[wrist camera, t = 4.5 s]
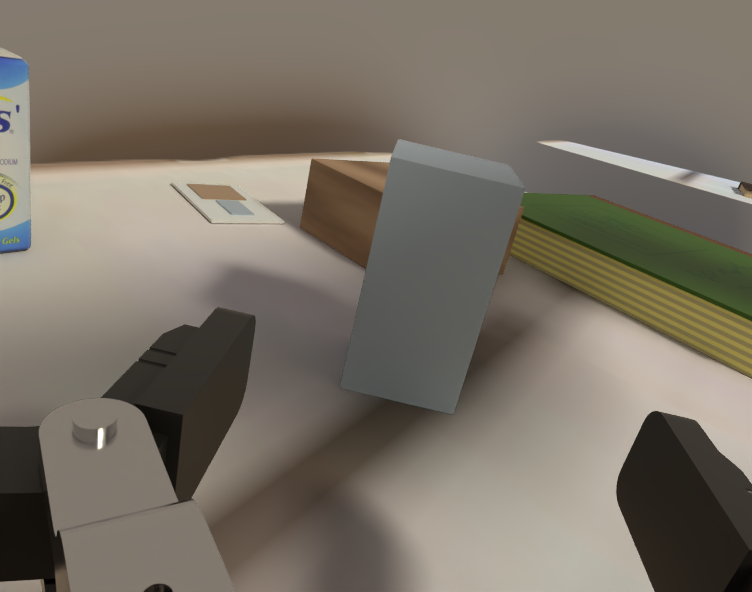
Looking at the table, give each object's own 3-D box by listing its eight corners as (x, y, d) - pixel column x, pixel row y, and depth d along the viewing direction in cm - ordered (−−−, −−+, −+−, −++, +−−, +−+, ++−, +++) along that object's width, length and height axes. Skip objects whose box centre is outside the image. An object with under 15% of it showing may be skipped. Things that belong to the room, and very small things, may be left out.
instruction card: (236, 187, 45) (237, 183, 45) (283, 223, 39) (284, 219, 39) (171, 184, 42) (171, 180, 42) (211, 223, 36) (211, 218, 36)
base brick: (403, 226, 46) (418, 164, 44) (501, 277, 40) (524, 207, 38) (299, 231, 40) (311, 158, 38) (397, 293, 33) (418, 209, 31)
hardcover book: (852, 346, 44) (879, 301, 42) (760, 395, 32) (794, 335, 30) (574, 228, 61) (587, 193, 59) (448, 231, 49) (460, 187, 47)
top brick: (450, 359, 27) (509, 164, 23) (453, 414, 23) (525, 188, 19) (354, 336, 27) (398, 139, 23) (339, 387, 23) (391, 156, 19)
